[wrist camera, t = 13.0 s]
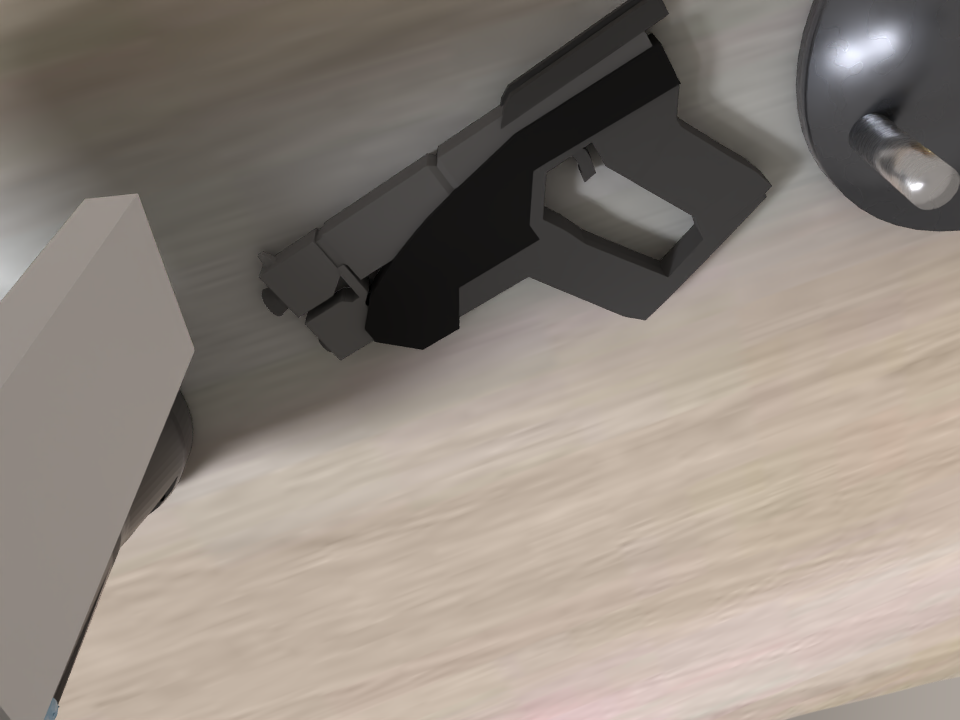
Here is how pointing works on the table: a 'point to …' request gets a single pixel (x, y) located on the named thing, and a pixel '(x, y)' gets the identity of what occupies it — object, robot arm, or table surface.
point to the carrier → (885, 106)
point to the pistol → (522, 202)
